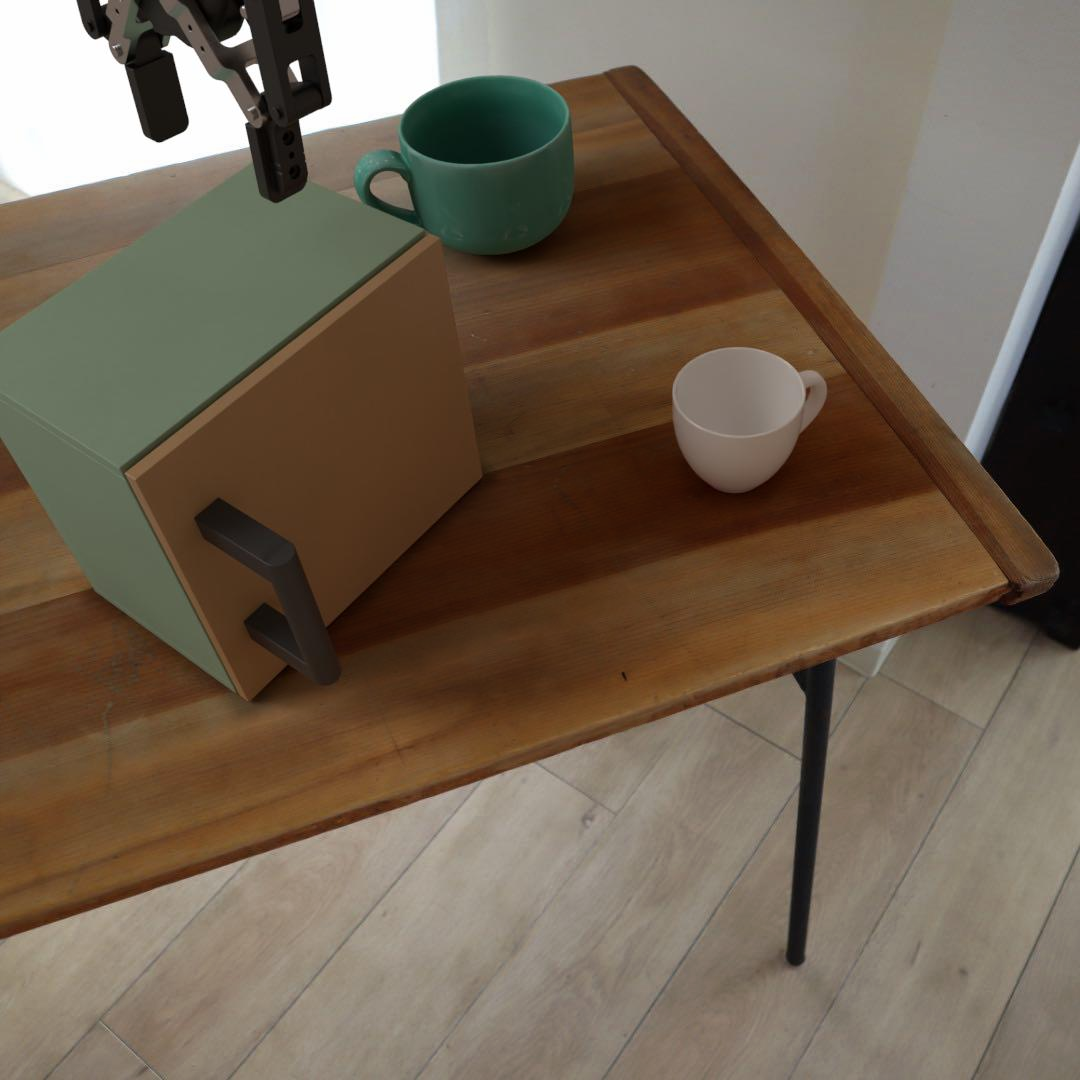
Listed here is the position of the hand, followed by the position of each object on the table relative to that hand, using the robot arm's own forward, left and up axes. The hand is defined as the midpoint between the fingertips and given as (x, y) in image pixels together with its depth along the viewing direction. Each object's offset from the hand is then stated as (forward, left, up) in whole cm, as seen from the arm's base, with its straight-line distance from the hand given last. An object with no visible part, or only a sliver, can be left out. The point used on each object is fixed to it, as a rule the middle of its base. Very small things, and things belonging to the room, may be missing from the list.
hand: (224, 163), depth 55 cm
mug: (+25, +17, -26) cm, 39 cm away
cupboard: (-3, +2, -25) cm, 26 cm away
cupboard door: (-1, -8, -25) cm, 27 cm away
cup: (+21, -15, -26) cm, 36 cm away
